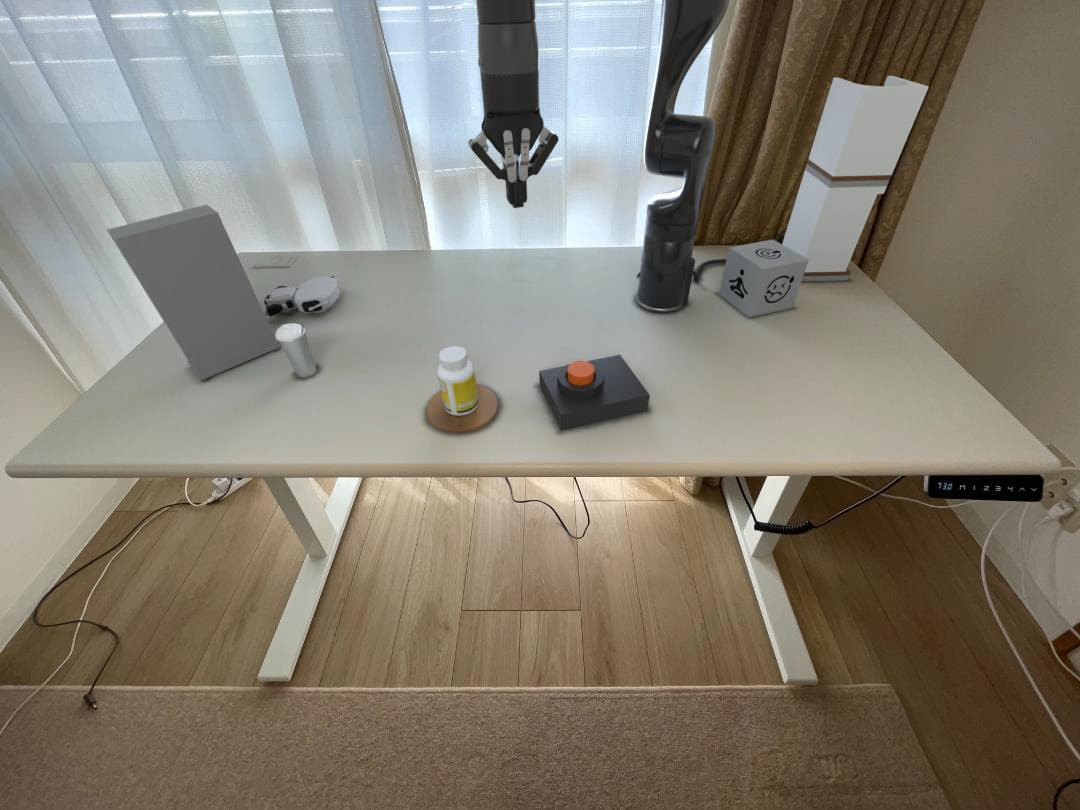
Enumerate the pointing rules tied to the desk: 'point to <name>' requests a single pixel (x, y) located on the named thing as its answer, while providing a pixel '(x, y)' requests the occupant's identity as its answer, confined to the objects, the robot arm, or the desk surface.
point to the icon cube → (762, 277)
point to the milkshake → (296, 348)
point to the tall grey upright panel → (197, 287)
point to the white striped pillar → (849, 170)
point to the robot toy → (303, 297)
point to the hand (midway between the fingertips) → (517, 205)
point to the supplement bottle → (457, 381)
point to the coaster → (464, 422)
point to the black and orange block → (594, 393)
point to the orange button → (580, 373)
